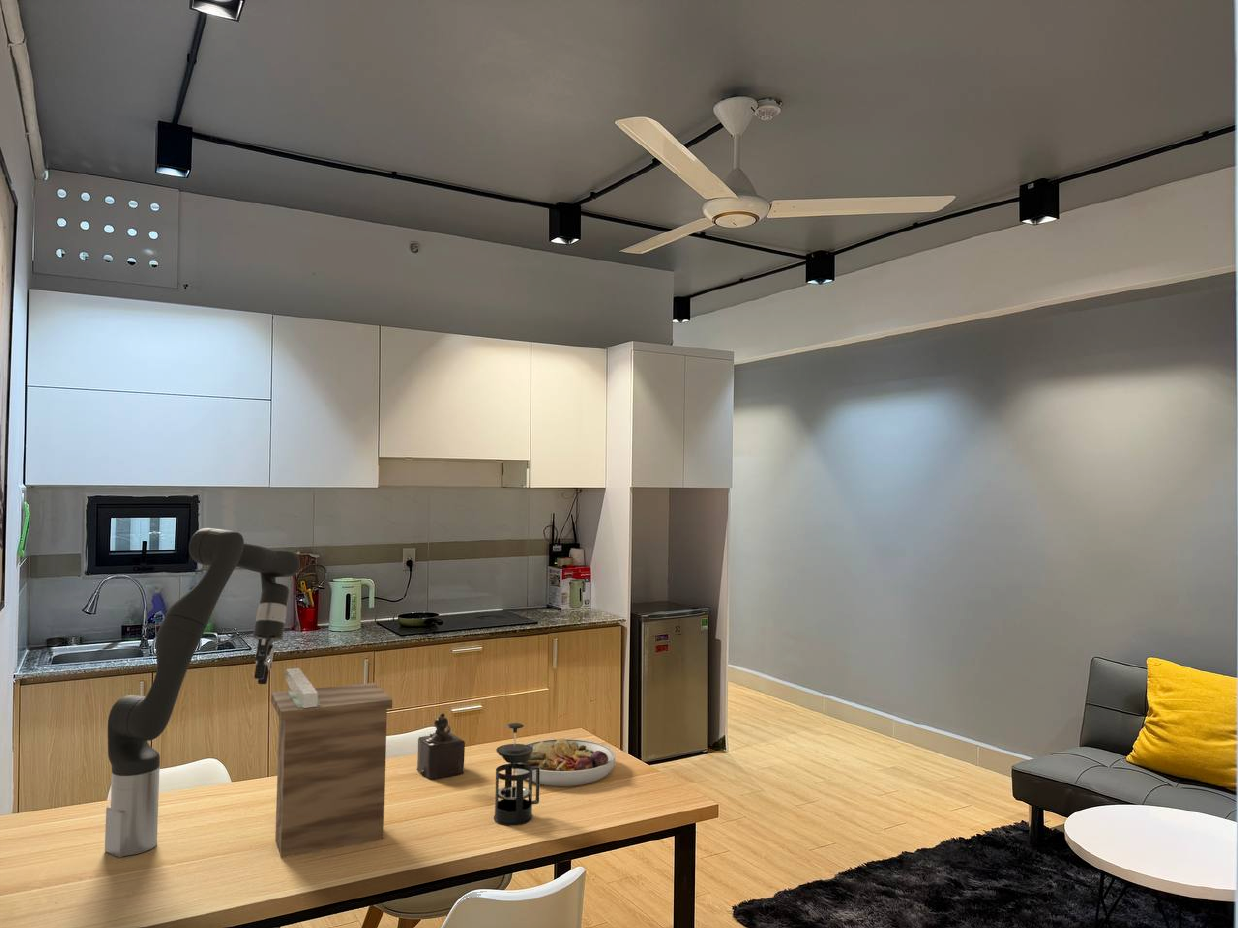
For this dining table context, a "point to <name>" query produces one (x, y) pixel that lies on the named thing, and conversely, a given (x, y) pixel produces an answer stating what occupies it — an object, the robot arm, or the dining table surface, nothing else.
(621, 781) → the dining table surface
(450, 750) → the manual coffee grinder
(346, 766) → the upright wood-grain block
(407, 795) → the dining table surface
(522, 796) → the french press
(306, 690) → the white rectangular bar
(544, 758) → the bowl
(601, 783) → the dining table surface
